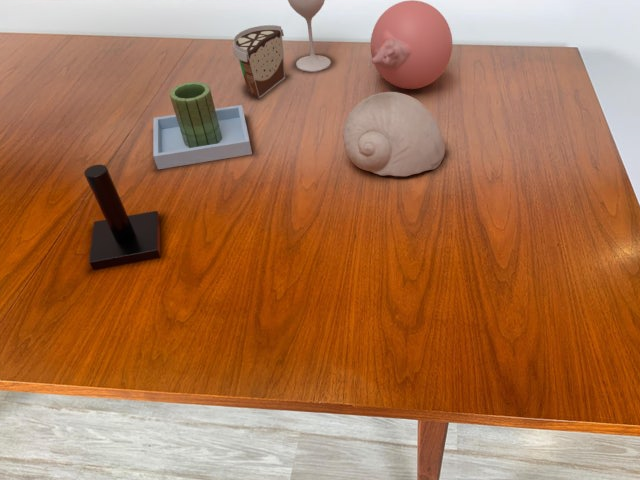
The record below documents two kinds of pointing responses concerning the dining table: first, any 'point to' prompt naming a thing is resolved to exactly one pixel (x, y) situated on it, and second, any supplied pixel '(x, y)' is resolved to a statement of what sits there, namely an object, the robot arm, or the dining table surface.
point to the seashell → (393, 135)
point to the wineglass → (310, 35)
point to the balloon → (411, 44)
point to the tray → (176, 153)
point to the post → (119, 226)
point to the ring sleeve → (196, 114)
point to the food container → (260, 58)
